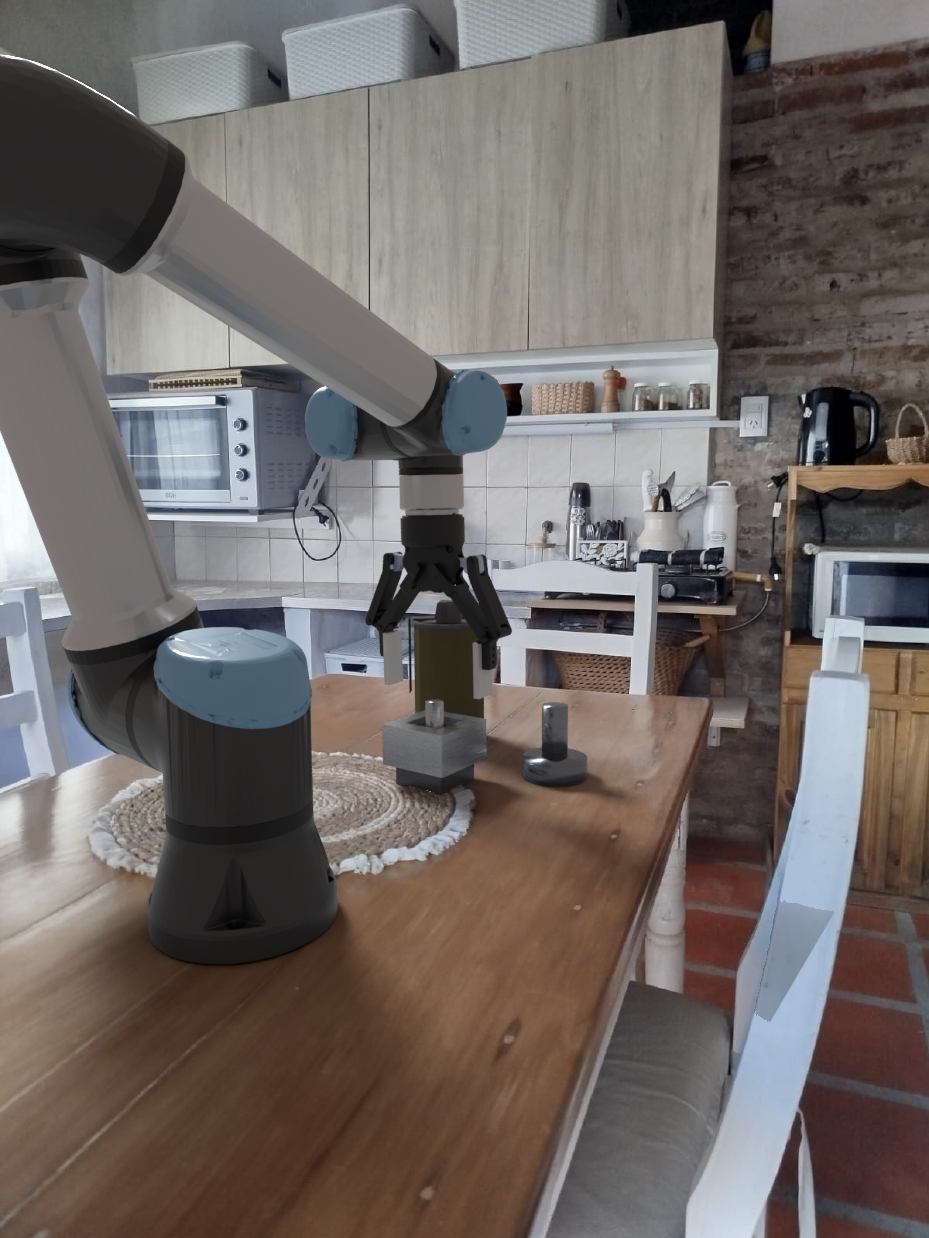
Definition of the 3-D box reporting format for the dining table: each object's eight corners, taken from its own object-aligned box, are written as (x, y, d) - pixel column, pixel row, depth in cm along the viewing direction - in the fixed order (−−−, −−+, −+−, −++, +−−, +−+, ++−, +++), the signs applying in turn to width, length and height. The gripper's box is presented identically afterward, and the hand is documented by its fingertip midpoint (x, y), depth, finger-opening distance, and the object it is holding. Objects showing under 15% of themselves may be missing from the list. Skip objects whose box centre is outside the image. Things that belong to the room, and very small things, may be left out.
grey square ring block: (442, 777, 97) (441, 735, 96) (383, 764, 102) (382, 724, 101) (486, 758, 104) (486, 718, 103) (429, 746, 109) (428, 708, 109)
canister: (488, 729, 127) (488, 597, 124) (483, 749, 116) (482, 605, 114) (416, 728, 128) (414, 596, 125) (405, 747, 117) (402, 605, 115)
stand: (440, 794, 99) (439, 710, 97) (396, 783, 103) (394, 703, 101) (474, 778, 104) (473, 699, 103) (430, 768, 108) (429, 692, 107)
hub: (567, 790, 99) (567, 716, 98) (510, 778, 104) (510, 707, 103) (598, 773, 106) (599, 703, 105) (543, 762, 111) (543, 695, 109)
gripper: (540, 511, 95) (541, 695, 98) (374, 511, 109) (379, 672, 112) (504, 513, 89) (506, 710, 92) (332, 513, 103) (340, 683, 106)
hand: (436, 689), depth 102 cm, fingers open, 13 cm apart
